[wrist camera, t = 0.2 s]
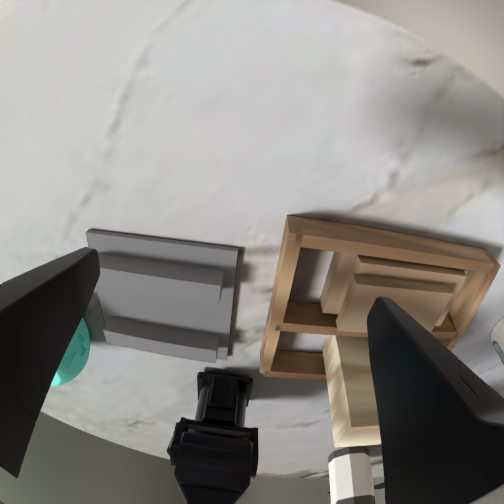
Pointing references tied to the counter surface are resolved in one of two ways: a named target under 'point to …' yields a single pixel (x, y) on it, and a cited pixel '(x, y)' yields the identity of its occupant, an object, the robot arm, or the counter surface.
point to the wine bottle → (351, 476)
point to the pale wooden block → (351, 391)
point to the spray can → (498, 338)
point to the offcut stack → (388, 289)
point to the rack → (368, 244)
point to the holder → (165, 294)
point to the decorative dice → (74, 356)
